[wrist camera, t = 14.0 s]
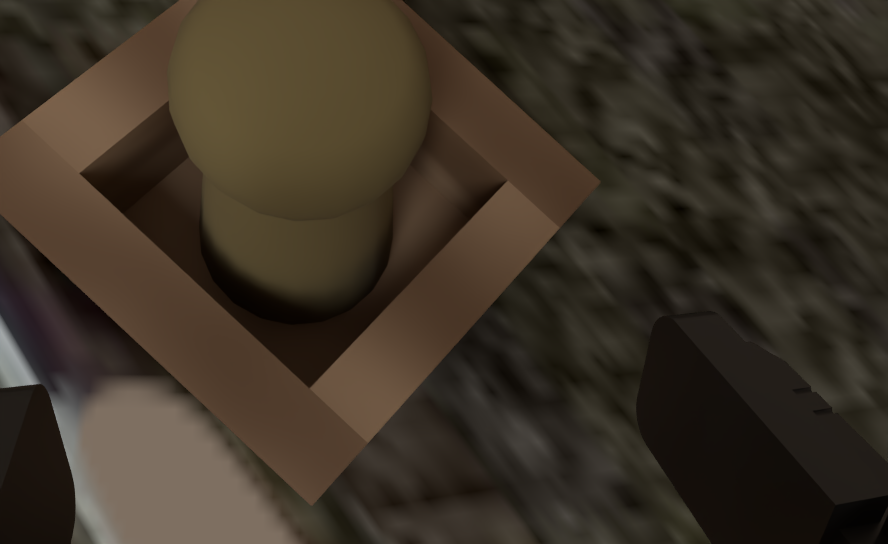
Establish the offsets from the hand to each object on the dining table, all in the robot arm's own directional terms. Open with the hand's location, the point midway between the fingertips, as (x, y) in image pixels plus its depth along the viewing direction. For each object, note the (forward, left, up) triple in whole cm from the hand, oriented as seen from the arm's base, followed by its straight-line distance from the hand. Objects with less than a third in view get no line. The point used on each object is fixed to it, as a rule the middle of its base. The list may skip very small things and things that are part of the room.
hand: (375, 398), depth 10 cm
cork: (-4, -5, -13) cm, 15 cm away
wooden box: (-4, -5, -14) cm, 16 cm away
